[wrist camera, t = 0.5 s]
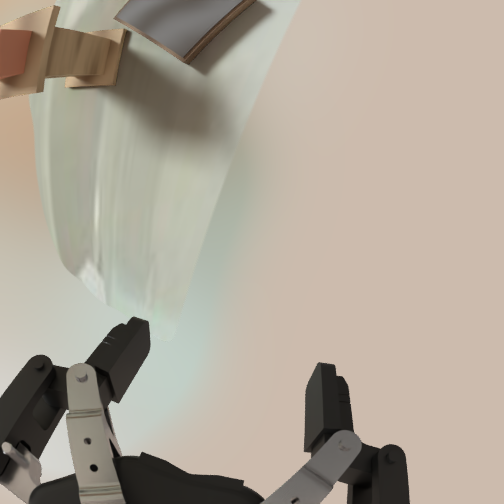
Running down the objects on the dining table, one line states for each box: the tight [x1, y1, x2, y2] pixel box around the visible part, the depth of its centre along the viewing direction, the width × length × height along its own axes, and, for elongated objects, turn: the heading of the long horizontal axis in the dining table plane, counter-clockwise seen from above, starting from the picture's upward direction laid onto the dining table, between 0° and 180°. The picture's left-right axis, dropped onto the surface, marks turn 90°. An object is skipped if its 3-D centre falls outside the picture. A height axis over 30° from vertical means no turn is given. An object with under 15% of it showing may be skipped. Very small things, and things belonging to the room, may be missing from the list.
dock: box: [113, 0, 256, 65], centre depth 21 cm, size 12×12×3 cm
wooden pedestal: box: [0, 5, 127, 99], centre depth 18 cm, size 8×8×16 cm
